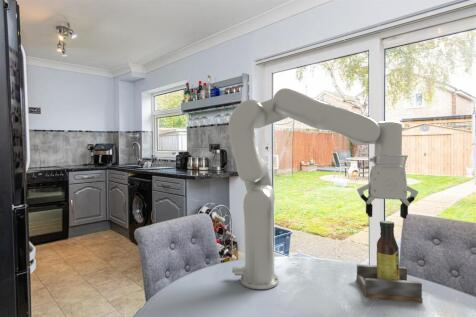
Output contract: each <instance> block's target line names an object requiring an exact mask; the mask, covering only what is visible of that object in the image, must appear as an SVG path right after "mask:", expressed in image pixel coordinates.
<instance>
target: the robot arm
mask: <svg viewBox="0 0 476 317" xmlns="http://www.w3.org/2000/svg"><path fill="white" fill-rule="evenodd" d="M288 118H290V119H292V120H295V121H297V122H299V123H302V124H305V125H306V126H309V127H312V128H313V129H317V130H323V131H329V132H332V133H335V134H340V135H342V136H344V137H347V139H348V140H349V141H350V143H352V144H353V145H356V146H367V145H374V155H373V156H372V157H369V159H368V160H369V163H372V164H373V165H371V169H370V173H369V181H368V183H367V184H365V185H363V186H361V187H359V188H357V189H356V191H357V193H358V195H359V197H360V199H361V200H363V201H364V202H365V214H366V215H367V216H368V218H372V217H373V204H372V202H374V200H375V199H377V200H399V201H400V202H401V204H400V208H399V209H400V210H399V211H400V212H399V215H400V218H402V219H406V220H407V216H408V215H409V206H410V205H411V204H412V203H413V202H414V201H415V199H416V198H417V196H418V194H419V191H418V190H416V189H414V188H412V187H410V186H408V184H407V183H408V182H407V174H406V168H405V166H402V150H403V149H402V146H403V144H402V142H403V125H402V123H401V121H395V120H386V121H385V120H384V121H378V122H376V120H375V119H372V118H371V117H368V116H365V115H363V114H361V113H358V112H355V111H353V110H350V109H347V108H344V107H340V106H337V105H333V104H330V103H327V102H324V101H321V100H318V99H316V98H315V97H311V96H308V95H306V94H304V93H301V92H299V91H296V90H293V89H290V88H284V87H283V88H281V89H279V90H277V91H276V92H275V94H274V96H273V97H272V98H271V99H268V100H265V101H262V102H259V101H258V100H255V99H246V100H244V101H242V102H240V103H238V104H237V106H236V107H235V108H234V110H233V111H232V113H231V115H230V117H229V121H228V136H229V141H230V146H231V150H232V154H233V157H234V162H235V167H236V171H237V175H238V177H239V178H240V180H241V181H242V182H243V183H244V187H245V189H246V194H245V195H244V197H243V198H244V199H243V207H242V208H243V217H244V218H243V220H244V221H243V222H244V266H241V267H236V266H233V267H232V270H231V271H232V274H234V276H240V283H241V285H242V286H244V287H246V288H248V289H252V290H253V289H254V290H269V289H272V288H275V287H276V286H278V284H279V281H280V280H279V276H277V275H276V274H275V270H274V269H275V262H274V261H275V260H274V257H275V256H274V254H275V253H274V249H275V248H274V245H275V244H274V241H275V240H274V204H275V191H274V187H273V184H272V179H271V176H270V171H269V167H268V166H267V163H266V161H265V159H264V158H262V157H261V153H260V151H259V147H258V146H259V145H258V141H257V137H256V135H255V129H260V128H263V127H266V126H269V125H272V124H274V123H277V122H280V121H283V120H286V119H288ZM367 190H368V196H366V195H365V193H364V192H365V191H367ZM408 192H409V193H410V194H409V196H408Z"/></svg>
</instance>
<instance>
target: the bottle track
mask: <svg viewBox="0 0 476 317" xmlns="http://www.w3.org/2000/svg"><path fill="white" fill-rule="evenodd" d="M407 269H408V268H407V267H406V266H399V280H388V279H377V264H376V265H372V264H356V281H357V283H358V285H359V287H360V289H361V291H362V293H363V295H364V297H365V298H366V300H367V299H368V300H381V301H395V302H396V301H397V302H408V303H409V302H411V303H423V293H422V292H423V283H422V282H421V281H419V280H418V281H417V280H408V270H407Z"/></svg>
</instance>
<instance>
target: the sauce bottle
mask: <svg viewBox="0 0 476 317" xmlns="http://www.w3.org/2000/svg"><path fill="white" fill-rule="evenodd" d="M379 227H380V233H379V234H380V237H379V238H378V240H377V241H376V265H377V279H388V280H399V267H400V249H399V248H400V247H399V245H398V243H397V240H396V238H395V233H394V232H395V229H394V228H395V222H394V221H392V220H381V221H379Z"/></svg>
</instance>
